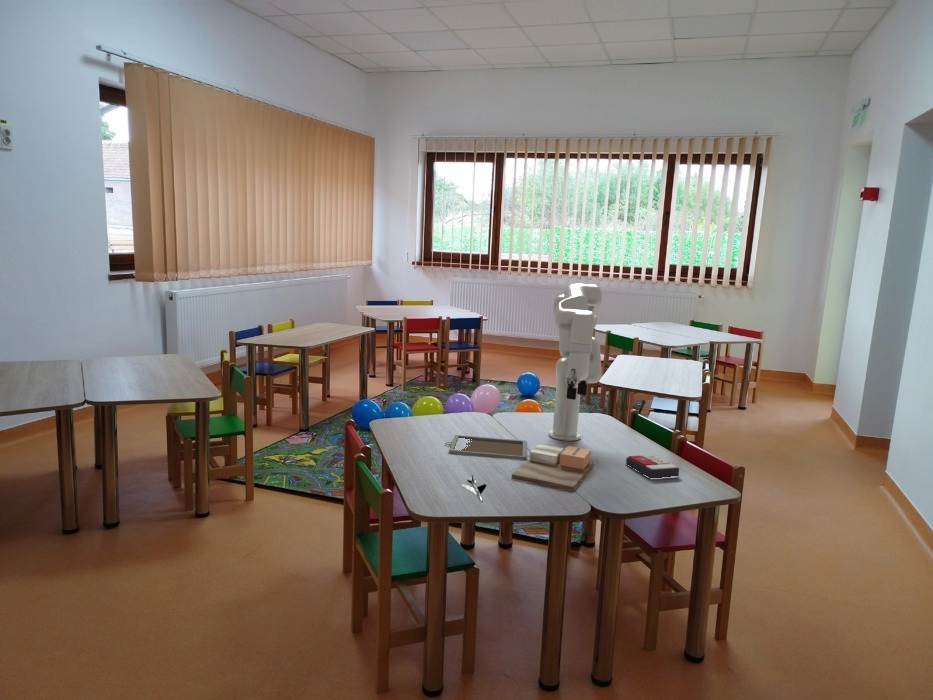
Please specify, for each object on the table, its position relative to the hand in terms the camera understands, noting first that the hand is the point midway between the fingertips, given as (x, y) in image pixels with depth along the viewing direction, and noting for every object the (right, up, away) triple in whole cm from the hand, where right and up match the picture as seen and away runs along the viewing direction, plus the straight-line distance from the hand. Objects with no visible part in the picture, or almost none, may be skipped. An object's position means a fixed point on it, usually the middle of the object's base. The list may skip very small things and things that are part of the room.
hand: (576, 396), depth 219 cm
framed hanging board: (-31, -20, +10) cm, 39 cm away
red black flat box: (+25, -26, -4) cm, 36 cm away
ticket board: (-9, -24, -9) cm, 27 cm away
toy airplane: (-36, -26, -28) cm, 52 cm away
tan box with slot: (-2, -22, -6) cm, 23 cm away
